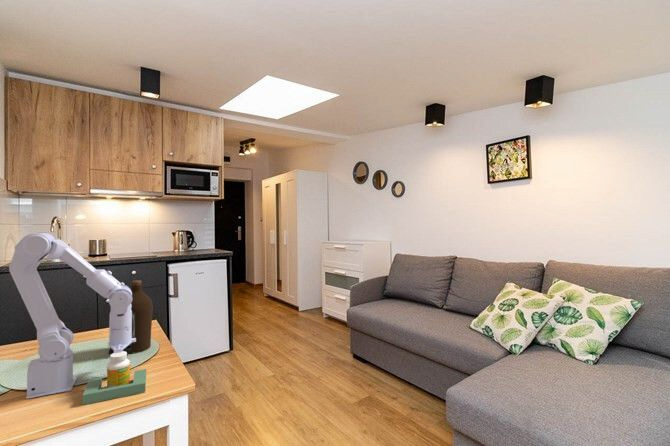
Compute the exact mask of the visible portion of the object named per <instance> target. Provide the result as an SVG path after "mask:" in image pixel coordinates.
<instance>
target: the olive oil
mask: <svg viewBox="0 0 670 446" xmlns="http://www.w3.org/2000/svg"><path fill="white" fill-rule="evenodd" d="M130 286H131V287H130V290H131V291H132V298H133V299H132V302H131V305H132V308H131V310H132V338H136V342H132V343H131V344H132V346H131V350H130V352H129V354H136V353H141V352H144V351H147V350H149V349H150V348H151V346H152V345H151V344H152V343H151V342H152V324H153V322H152V321H153V311H154V305H153V300H152V298H151V297H149V295H147V294H146V293H145V292H144V291H143V290H142V289H143V284H142V280H137V279H136V280H132V281H131V285H130ZM129 354H128V355H129Z"/></svg>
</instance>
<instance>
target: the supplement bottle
mask: <svg viewBox="0 0 670 446" xmlns="http://www.w3.org/2000/svg"><path fill="white" fill-rule="evenodd" d="M126 358H127V359H126ZM130 371H131V363H130V359H129V358H128V356H127V352H125V351H122V352H119V353H113V354H111V355H109V362H108V364H107V365H106V388H110V387H115V386H120V385H126V384H131V383H130V382H131V380H130V379H131V374H130V373H131V372H130Z"/></svg>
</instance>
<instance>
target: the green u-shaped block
mask: <svg viewBox="0 0 670 446" xmlns="http://www.w3.org/2000/svg"><path fill="white" fill-rule="evenodd" d="M146 384H147V368H145V369H139V370H138V369H137V370H135V371H134V373H133V380H132V382H131V383H130V384H126V385H120V386H115V387H110V388H107V387H106V388H102V386H103V376H99V377H94V378H93V377H92V378H89V379H88V381H87V382H86V386H85V388H84V391H83V394H82V395H81V396H82V406H83V405H84V406H85V405H90V404H94V403H95V404H96V403H99V402H103V401H108V400H113V399H117V398H118V399H119V398H122V397H127V396H128V397H129V396H132V395H136V394H141V393H145V392H146Z"/></svg>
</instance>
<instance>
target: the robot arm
mask: <svg viewBox="0 0 670 446" xmlns="http://www.w3.org/2000/svg"><path fill="white" fill-rule="evenodd" d="M46 256H47V257H46ZM45 257H46V258H47V259H50V260H51V259H53V260H61V261H62V262H64V263H65V264H67V265H68V266H69V267H71V268H72V269H74V270H75V271H76V272H78V273H79V274H81V275H82V276H84V278H86V281H85V282H86V285H87V286H88V287H89V288H91V289H93V290H94V292H96V293H97V294H98V295H100V296H101V297H103V299H107V300H108V304H109V306H110V312H109V322H108V323H109V326H108V328H109V330H108V331H109V333H108V334H109V336H108V337H109V341H108V344H107V345H108V347H109V350H108V355H109V356H110V355H111V354H113V353H119V352H122V351H125V352H127V358H126V359H128V356H129V352H130V350H131V346H132V344H131V343H132V342H136V338H132V310H131V308H132V305H131V302H132V299H133V298H132V291H131V288H130V287H129V286H128V285H125V283H124V282H123V281H122V282H120V281H119V280H118V279H116V278H115V277H114V276H113V275H112V274H113V273H112V271H110V270H105V269H101V268H100V269H98V268H97V269H96V268H95V267H94V266H93V265H92V264H91V263H89V262H88V261H87V260H86V259H85V258H84V257H82V256H81V255H80V254H79V253H78V252H77V251H76V250H75V249H74V248H72V247H71V246H70V245H68V244H67V243H66V242H65V241H63V240H61V239H60V238H57V237H56V236H55V235H54V234H53V233H51V232H47V231H39V232H36V233H35V232H34V233H29V234H27V235H25V236H24V237H22V238H21V239H20V240H19V241H18V242H17V243H16V244H15V246H14V251H13V256H12V258H11V261H10V263H9V267H8V270H9V271H8V272H9V274H10V275H11V277H12V280H13V281H14V284H15V286H16V288H17V291H18V292H19V294H20V296H21V299H22V300H23V303H24V305H25V307H26V310H27V312H28V314H29V316H30V318H31V320H32V323H33V325H34V327H35V329H36V341H37V342H38V350H37V351H38V356H39V358H35V359H31V360H30V362H29V364H28V366H27V372H26V373H27V374H26V375H27V376H26V397H25V399H33V398H38V397H42V396H47V395H48V396H49V395H53V394H59V393H65V392H70V391H72V390H73V387H74V386H75V383H76V381H77V380H78V376H74V350H72V349H71V347H70V346H71V344H72V343H73V341H74V334H73V331H71V329H69V328H67V327H66V325H65V323H64V322H63V321H62V320H61V319H60V318H59V316H58V314H57V311H56V309H55V308H54V304H53V302H52V300H51V298H50V295H49V294H48V291H47V290H46V287H45V285H44V283H43V281H42V279H41V276H40V274H39V272H38V270H37V269H38V267H39V265H40V264H41V263H42V261H43V260H44V259H45Z"/></svg>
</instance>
